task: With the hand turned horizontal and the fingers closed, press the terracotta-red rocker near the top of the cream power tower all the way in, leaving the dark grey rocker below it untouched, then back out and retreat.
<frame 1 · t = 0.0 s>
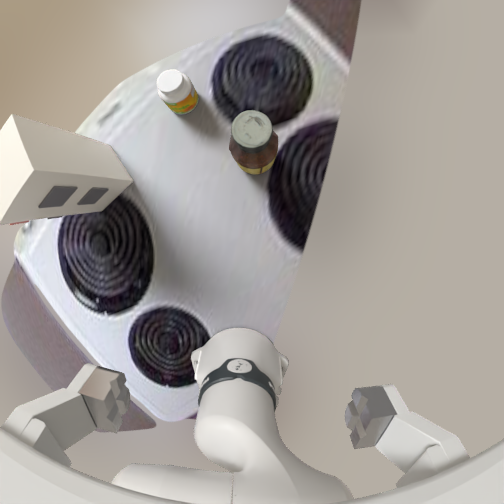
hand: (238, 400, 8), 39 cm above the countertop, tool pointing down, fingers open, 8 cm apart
red rocker: (22, 200, 27), point 18 cm above the countertop, slide at 0.0 cm
grey rocker: (58, 199, 36), point 9 cm above the countertop, slide at 0.0 cm
sauce bottle: (254, 157, 44), on the countertop
supplement bottle: (184, 101, 42), on the countertop
power tower: (90, 192, 45), on the countertop
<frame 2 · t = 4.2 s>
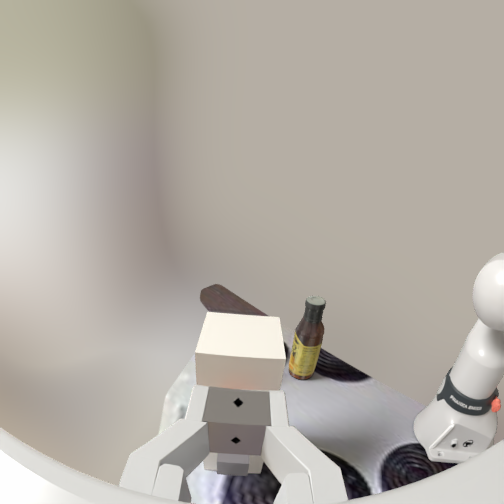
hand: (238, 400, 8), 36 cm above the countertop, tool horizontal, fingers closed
grey rocker: (233, 454, 29), point 9 cm above the countertop, slide at 0.0 cm
sauce bottle: (300, 373, 60), on the countertop
power tower: (232, 472, 33), on the countertop
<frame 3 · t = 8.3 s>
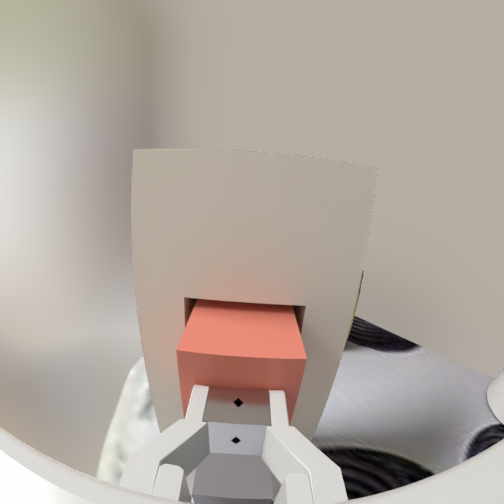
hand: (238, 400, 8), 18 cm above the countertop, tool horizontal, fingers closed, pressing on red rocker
red rocker: (241, 357, 11), point 18 cm above the countertop, slide at 1.2 cm, touching gripper
grey rocker: (233, 475, 12), point 9 cm above the countertop, slide at 0.0 cm
power tower: (231, 500, 16), on the countertop
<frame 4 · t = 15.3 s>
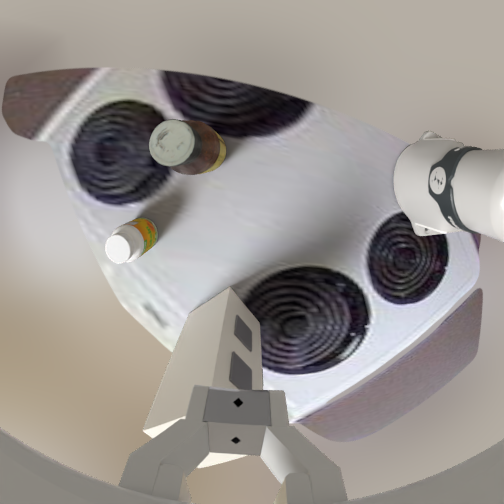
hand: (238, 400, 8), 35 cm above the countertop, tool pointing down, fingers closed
grey rocker: (242, 373, 39), point 9 cm above the countertop, slide at 0.0 cm
sauce bottle: (207, 153, 39), on the countertop
supplement bottle: (143, 233, 43), on the countertop
power tower: (239, 335, 48), on the countertop
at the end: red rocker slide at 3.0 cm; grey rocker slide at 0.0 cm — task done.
